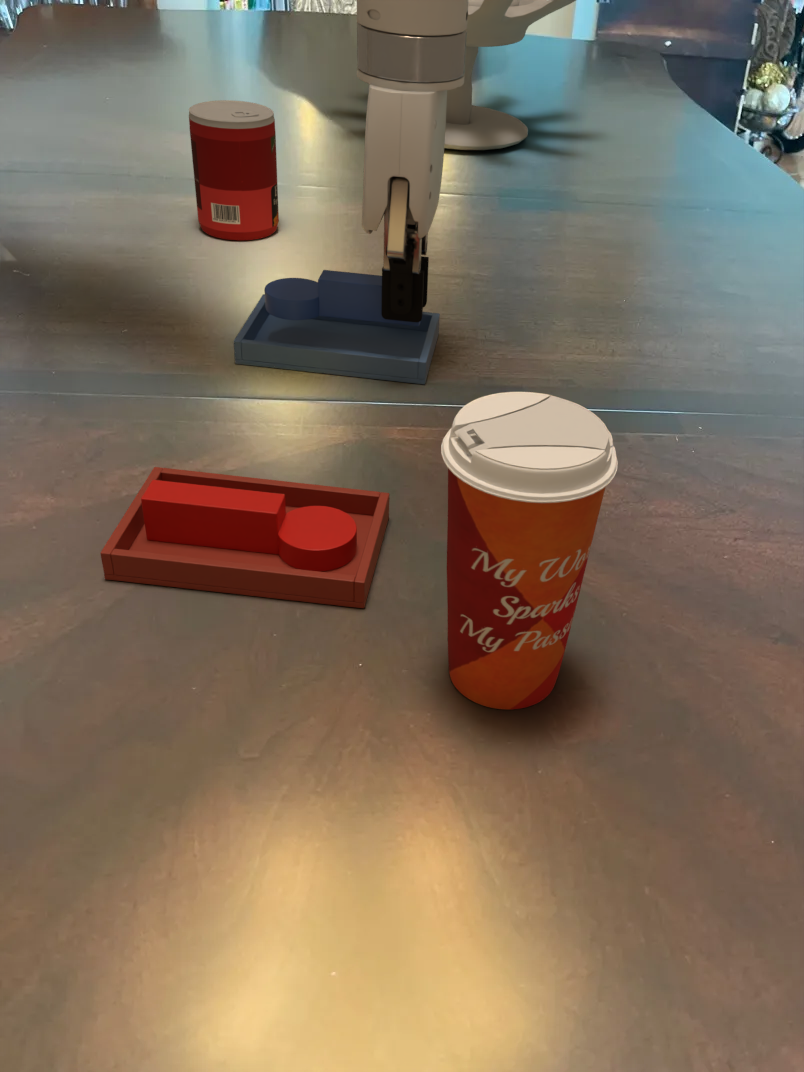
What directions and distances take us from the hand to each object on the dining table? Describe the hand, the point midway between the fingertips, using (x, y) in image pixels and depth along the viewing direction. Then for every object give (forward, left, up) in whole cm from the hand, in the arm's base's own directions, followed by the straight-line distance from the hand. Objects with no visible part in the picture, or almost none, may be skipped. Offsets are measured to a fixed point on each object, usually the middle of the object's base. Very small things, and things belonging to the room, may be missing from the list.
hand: (404, 310), depth 84 cm
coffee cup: (+11, -38, -4) cm, 40 cm away
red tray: (-5, -29, -4) cm, 30 cm away
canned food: (-20, +25, -4) cm, 32 cm away
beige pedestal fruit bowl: (-2, +68, -4) cm, 68 cm away
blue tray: (-5, 0, -4) cm, 6 cm away
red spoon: (-5, -29, -3) cm, 30 cm away
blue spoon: (-5, 0, -1) cm, 5 cm away
